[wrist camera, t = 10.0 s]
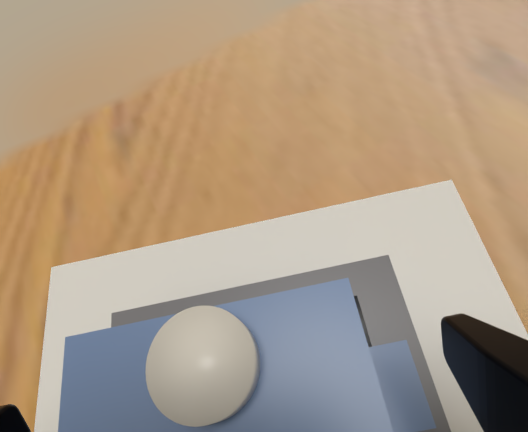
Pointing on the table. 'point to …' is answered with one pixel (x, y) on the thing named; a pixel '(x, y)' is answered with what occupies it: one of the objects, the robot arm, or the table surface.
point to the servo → (244, 371)
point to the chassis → (303, 283)
